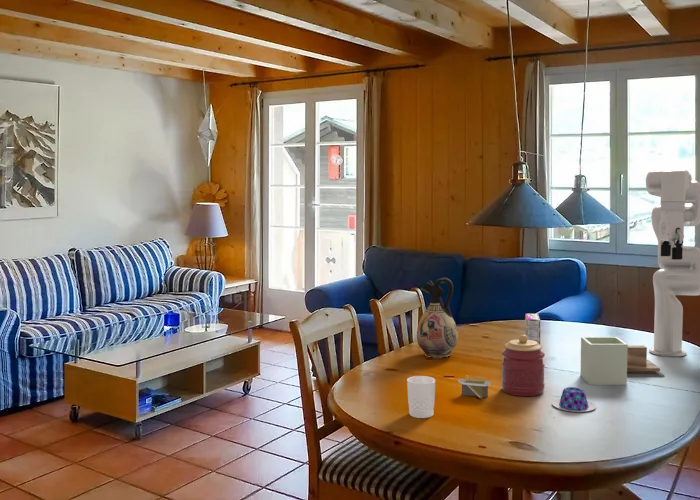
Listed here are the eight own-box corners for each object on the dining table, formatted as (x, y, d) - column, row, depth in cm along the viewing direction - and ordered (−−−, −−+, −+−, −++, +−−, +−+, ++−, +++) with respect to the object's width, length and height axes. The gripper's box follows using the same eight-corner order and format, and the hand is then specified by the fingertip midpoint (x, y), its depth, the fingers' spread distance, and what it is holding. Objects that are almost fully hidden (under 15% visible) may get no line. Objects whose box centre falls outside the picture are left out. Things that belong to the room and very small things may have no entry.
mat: (608, 365, 242) (608, 364, 242) (649, 365, 241) (649, 364, 241) (621, 376, 228) (621, 375, 228) (664, 376, 227) (664, 375, 227)
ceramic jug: (411, 359, 255) (410, 278, 252) (423, 349, 269) (422, 273, 266) (456, 363, 249) (456, 280, 246) (466, 353, 263) (466, 275, 260)
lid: (612, 365, 241) (613, 342, 240) (648, 365, 240) (648, 342, 239) (622, 374, 230) (623, 350, 229) (659, 374, 229) (660, 350, 228)
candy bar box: (524, 357, 256) (524, 313, 254) (538, 357, 255) (538, 313, 253) (525, 364, 245) (526, 319, 243) (540, 365, 244) (541, 319, 242)
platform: (501, 407, 201) (501, 384, 200) (440, 401, 207) (440, 379, 207) (507, 395, 212) (507, 374, 211) (449, 389, 218) (449, 369, 218)
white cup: (405, 410, 198) (404, 376, 197) (432, 409, 198) (432, 375, 197) (409, 419, 190) (409, 384, 189) (438, 418, 191) (438, 383, 190)
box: (580, 375, 230) (581, 337, 229) (616, 375, 230) (616, 336, 228) (589, 384, 220) (589, 344, 219) (626, 384, 219) (627, 344, 218)
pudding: (560, 414, 193) (561, 396, 192) (546, 401, 205) (546, 384, 204) (602, 413, 193) (603, 395, 193) (585, 400, 205) (586, 382, 205)
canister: (520, 399, 206) (521, 341, 204) (492, 388, 217) (492, 333, 216) (553, 392, 212) (554, 336, 210) (524, 382, 223) (525, 328, 222)
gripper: (651, 206, 241) (650, 255, 242) (671, 208, 223) (669, 260, 225) (674, 206, 240) (672, 255, 242) (695, 207, 223) (693, 260, 224)
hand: (671, 257), depth 233 cm, fingers open, 9 cm apart
